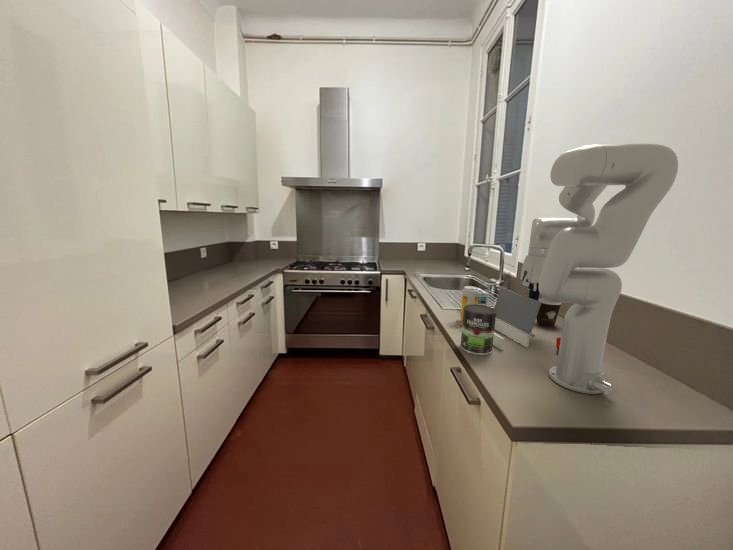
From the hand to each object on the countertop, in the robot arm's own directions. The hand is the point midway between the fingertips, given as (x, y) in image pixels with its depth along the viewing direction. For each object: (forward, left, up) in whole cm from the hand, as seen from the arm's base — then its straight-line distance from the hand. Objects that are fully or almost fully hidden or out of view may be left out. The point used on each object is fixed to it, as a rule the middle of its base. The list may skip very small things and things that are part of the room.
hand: (533, 300), depth 111 cm
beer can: (+15, +17, -13) cm, 26 cm away
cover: (-1, +9, -3) cm, 9 cm away
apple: (-17, 0, -13) cm, 21 cm away
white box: (-1, +15, -13) cm, 20 cm away
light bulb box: (+26, +6, -14) cm, 30 cm away
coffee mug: (+7, -13, -13) cm, 20 cm away
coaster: (+15, +17, -13) cm, 26 cm away
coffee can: (-8, +28, -13) cm, 32 cm away
